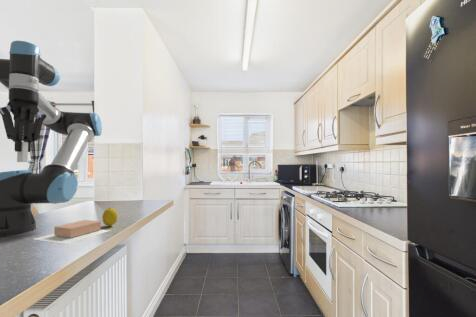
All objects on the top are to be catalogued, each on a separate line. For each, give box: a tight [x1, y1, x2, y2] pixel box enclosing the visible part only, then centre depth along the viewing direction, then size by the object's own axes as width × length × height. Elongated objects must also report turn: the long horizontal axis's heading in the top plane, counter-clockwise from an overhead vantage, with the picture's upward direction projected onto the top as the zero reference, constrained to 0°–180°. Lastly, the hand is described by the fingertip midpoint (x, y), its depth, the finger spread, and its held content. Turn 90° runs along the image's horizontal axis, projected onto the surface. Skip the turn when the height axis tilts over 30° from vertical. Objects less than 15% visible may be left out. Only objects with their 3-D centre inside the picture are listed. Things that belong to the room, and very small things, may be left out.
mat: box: [33, 229, 112, 245], centre depth 91 cm, size 16×18×1 cm
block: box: [53, 219, 102, 238], centre depth 93 cm, size 8×3×12 cm
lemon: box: [102, 207, 118, 228], centre depth 104 cm, size 6×6×8 cm
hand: (22, 161), depth 82 cm, fingers closed
